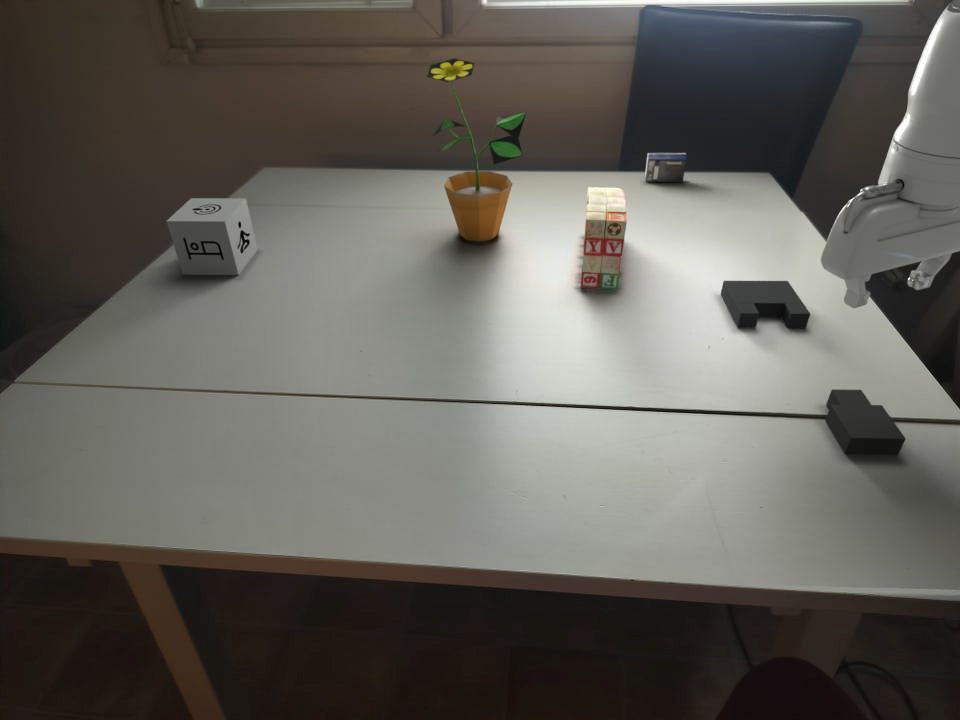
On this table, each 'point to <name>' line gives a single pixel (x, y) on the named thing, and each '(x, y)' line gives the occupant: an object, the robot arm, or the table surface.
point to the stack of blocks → (603, 238)
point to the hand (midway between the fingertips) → (886, 295)
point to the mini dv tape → (665, 167)
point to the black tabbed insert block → (862, 424)
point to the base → (764, 303)
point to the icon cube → (213, 236)
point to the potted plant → (477, 192)
